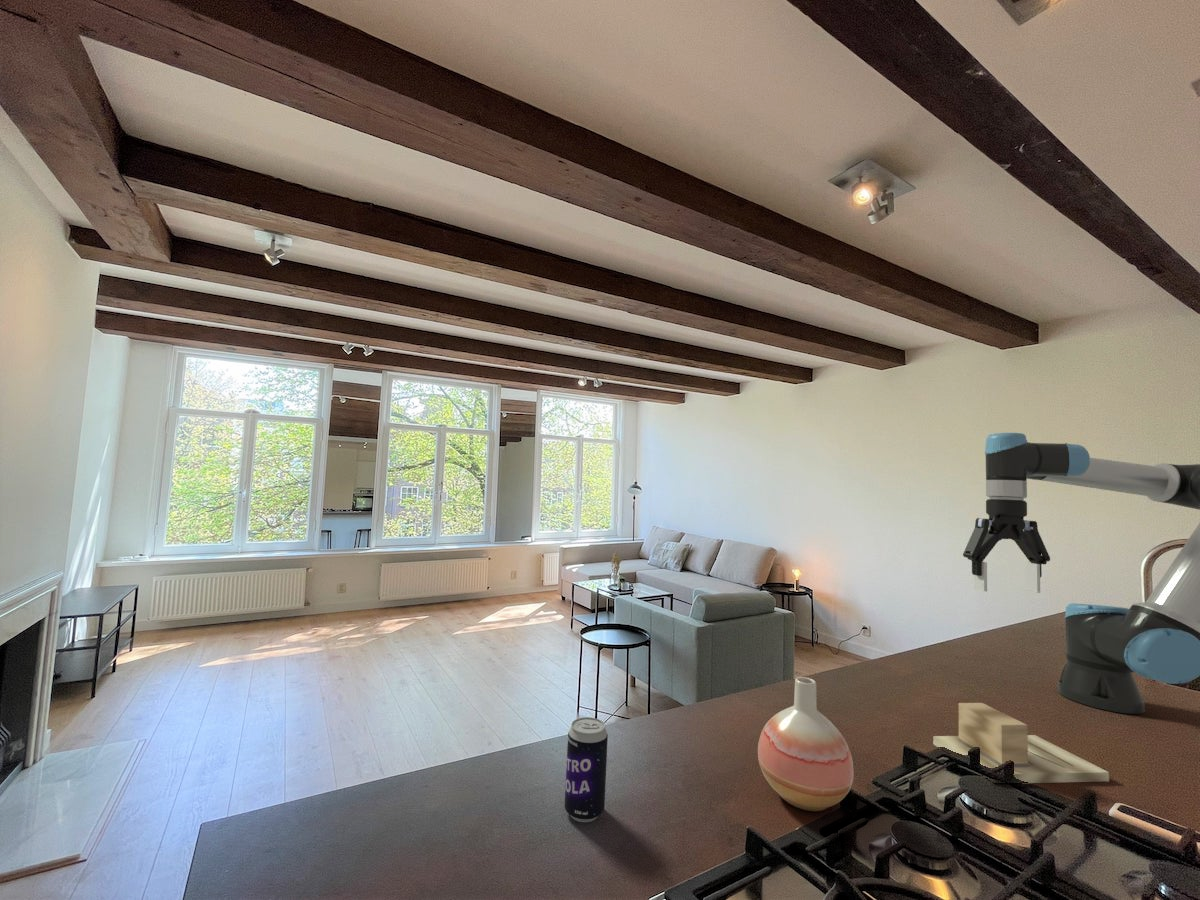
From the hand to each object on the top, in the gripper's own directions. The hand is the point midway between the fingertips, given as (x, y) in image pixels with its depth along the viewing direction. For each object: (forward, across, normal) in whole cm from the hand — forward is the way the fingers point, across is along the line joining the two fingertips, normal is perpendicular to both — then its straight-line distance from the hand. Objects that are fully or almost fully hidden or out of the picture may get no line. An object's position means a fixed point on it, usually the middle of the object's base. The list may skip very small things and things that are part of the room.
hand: (1007, 591), depth 117 cm
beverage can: (+27, +100, +32) cm, 108 cm away
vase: (+27, +66, +30) cm, 77 cm away
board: (+27, +20, +21) cm, 39 cm away
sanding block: (+25, +25, +21) cm, 41 cm away
